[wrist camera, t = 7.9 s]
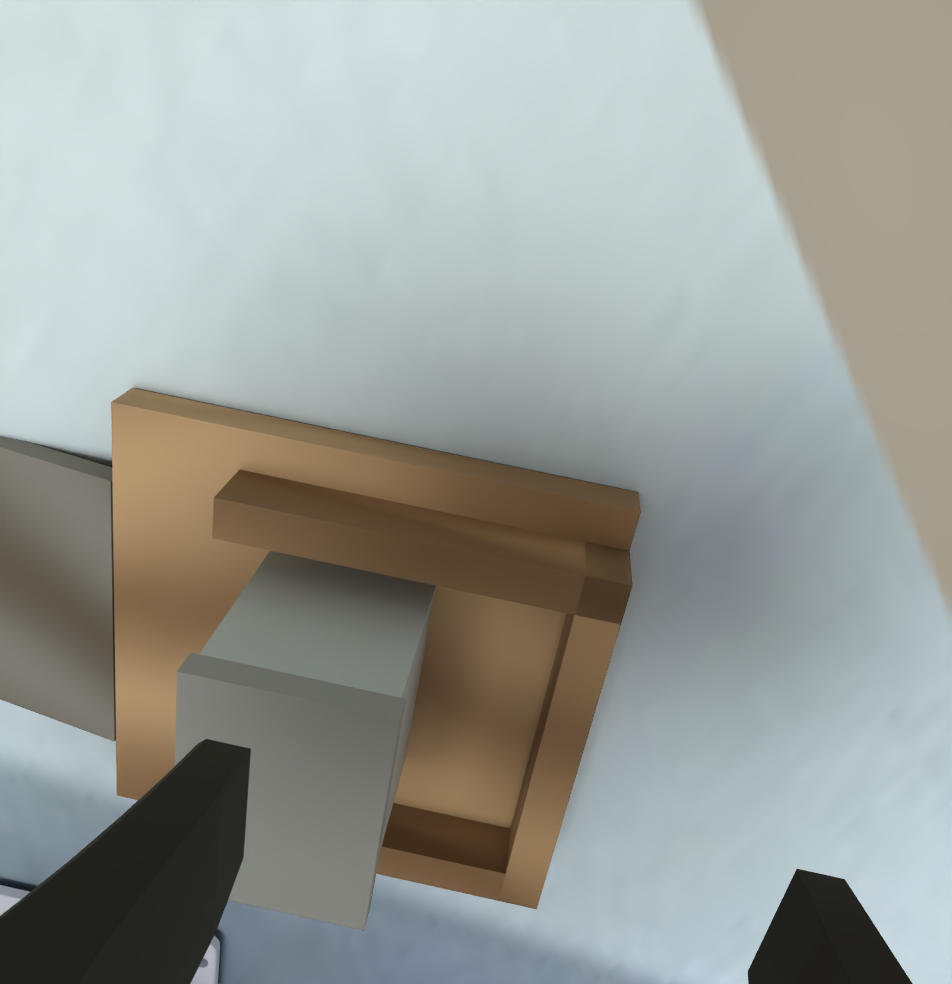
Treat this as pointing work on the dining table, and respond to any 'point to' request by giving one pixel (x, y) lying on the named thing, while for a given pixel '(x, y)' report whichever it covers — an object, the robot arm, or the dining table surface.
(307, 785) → the grey lidded box
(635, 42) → the dining table surface
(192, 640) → the dock
